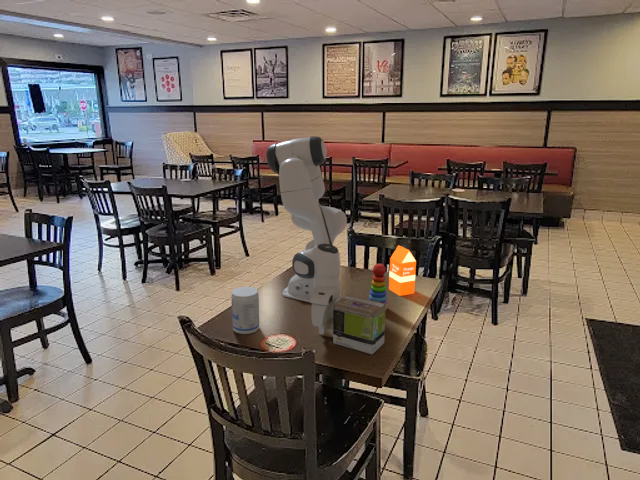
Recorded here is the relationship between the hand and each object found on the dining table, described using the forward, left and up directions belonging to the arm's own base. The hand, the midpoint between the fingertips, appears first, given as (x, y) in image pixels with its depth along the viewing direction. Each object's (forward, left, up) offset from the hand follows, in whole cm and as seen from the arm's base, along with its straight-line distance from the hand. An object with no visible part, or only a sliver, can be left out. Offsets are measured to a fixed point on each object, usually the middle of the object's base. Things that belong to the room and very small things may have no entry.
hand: (326, 327), depth 161 cm
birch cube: (+1, +1, -2) cm, 2 cm away
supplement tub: (-28, -6, -2) cm, 29 cm away
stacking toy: (+13, +27, -2) cm, 29 cm away
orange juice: (+19, +49, -2) cm, 52 cm away
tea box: (+13, -3, -3) cm, 13 cm away
